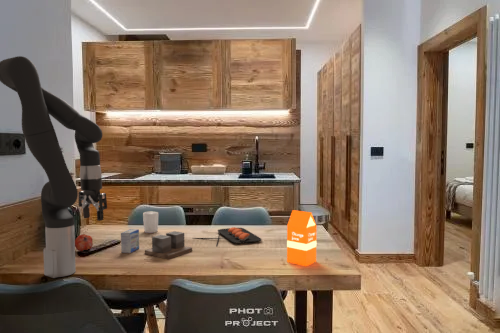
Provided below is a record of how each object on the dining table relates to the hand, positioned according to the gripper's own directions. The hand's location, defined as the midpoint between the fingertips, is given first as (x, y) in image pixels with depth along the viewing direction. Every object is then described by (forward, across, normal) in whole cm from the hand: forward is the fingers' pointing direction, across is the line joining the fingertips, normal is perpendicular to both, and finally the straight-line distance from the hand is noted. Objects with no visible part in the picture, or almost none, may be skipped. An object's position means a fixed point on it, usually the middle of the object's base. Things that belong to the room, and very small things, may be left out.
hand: (93, 219), depth 147 cm
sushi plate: (+20, +18, +58) cm, 64 cm away
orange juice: (+19, +66, +45) cm, 82 cm away
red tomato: (+18, -20, +8) cm, 28 cm away
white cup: (+19, -23, +49) cm, 57 cm away
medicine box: (+18, -3, +19) cm, 26 cm away
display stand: (+18, +13, +26) cm, 34 cm away
